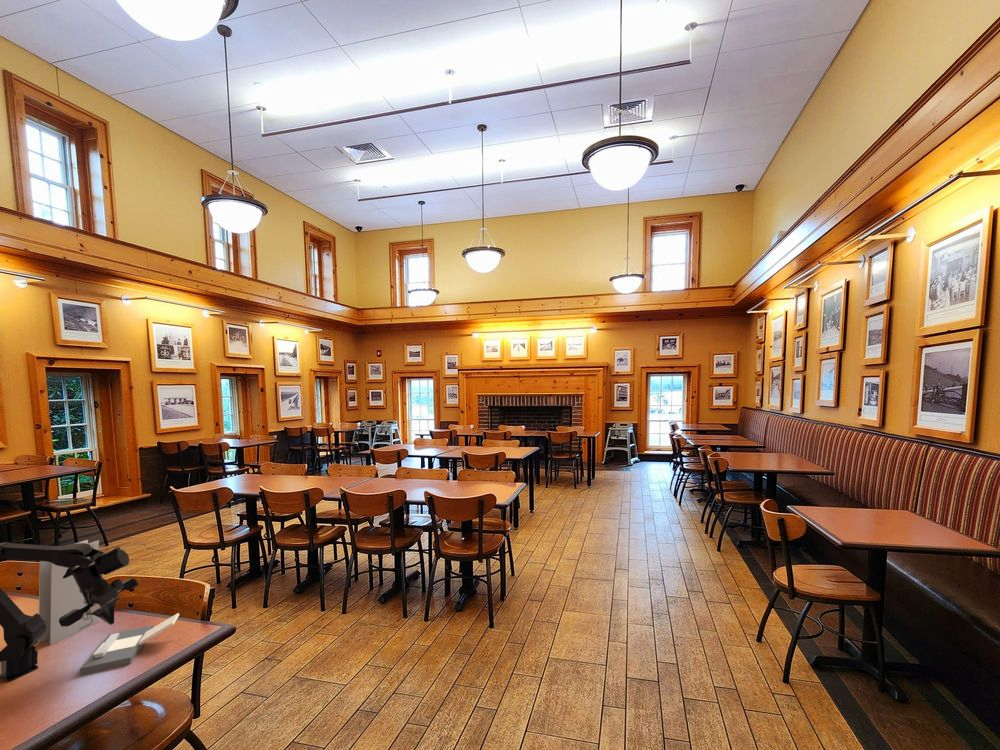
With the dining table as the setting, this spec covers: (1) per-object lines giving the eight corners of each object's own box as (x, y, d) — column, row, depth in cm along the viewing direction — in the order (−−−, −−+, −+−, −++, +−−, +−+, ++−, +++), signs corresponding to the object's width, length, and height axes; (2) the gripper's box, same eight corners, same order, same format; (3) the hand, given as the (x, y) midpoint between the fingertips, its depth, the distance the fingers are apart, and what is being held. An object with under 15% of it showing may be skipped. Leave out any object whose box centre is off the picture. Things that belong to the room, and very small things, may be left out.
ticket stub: (138, 643, 138) (172, 622, 142) (145, 632, 144) (178, 612, 148) (139, 645, 138) (173, 624, 142) (147, 634, 144) (179, 614, 148)
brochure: (50, 644, 143) (51, 555, 144) (38, 643, 144) (39, 554, 145) (98, 622, 157) (98, 540, 158) (86, 620, 158) (87, 539, 159)
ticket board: (80, 675, 127) (80, 663, 127) (109, 639, 145) (109, 629, 145) (130, 663, 132) (130, 652, 132) (152, 630, 150) (152, 621, 150)
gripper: (62, 601, 124) (86, 647, 125) (135, 561, 140) (156, 602, 142) (48, 603, 129) (71, 647, 130) (120, 563, 145) (140, 603, 147)
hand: (112, 623), depth 137 cm, fingers closed
